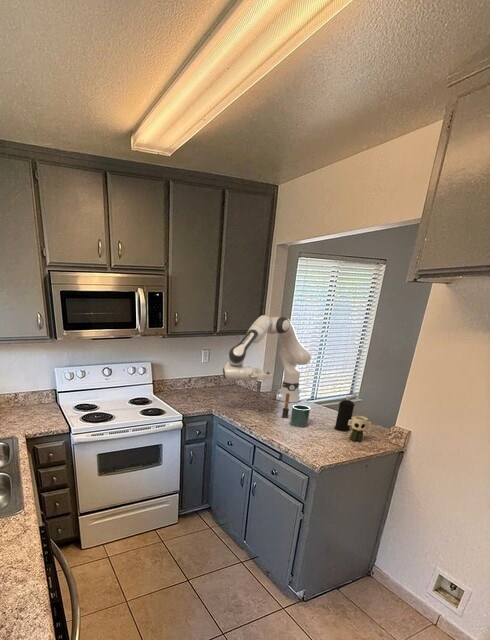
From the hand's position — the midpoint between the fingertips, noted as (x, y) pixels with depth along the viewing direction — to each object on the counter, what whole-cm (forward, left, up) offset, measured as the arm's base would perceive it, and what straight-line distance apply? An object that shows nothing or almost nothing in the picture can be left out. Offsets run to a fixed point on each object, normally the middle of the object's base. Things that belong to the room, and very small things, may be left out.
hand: (270, 374), depth 225 cm
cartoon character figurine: (+35, +44, -28) cm, 63 cm away
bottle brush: (0, +12, -28) cm, 30 cm away
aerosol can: (+18, +42, -28) cm, 54 cm away
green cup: (+13, +18, -28) cm, 36 cm away
